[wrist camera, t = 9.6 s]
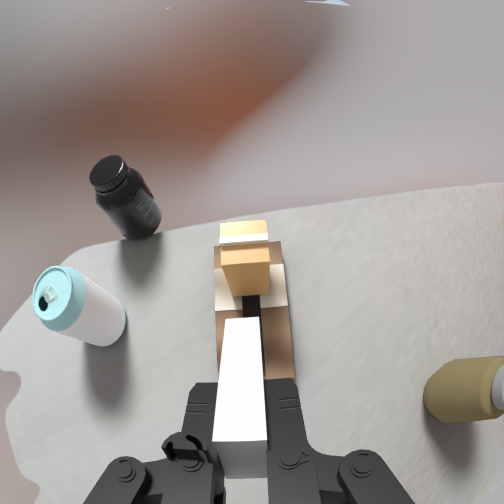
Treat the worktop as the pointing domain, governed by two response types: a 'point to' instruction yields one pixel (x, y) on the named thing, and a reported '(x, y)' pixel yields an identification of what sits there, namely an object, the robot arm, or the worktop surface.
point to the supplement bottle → (125, 198)
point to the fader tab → (245, 257)
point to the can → (77, 307)
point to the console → (259, 315)
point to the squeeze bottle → (467, 390)
